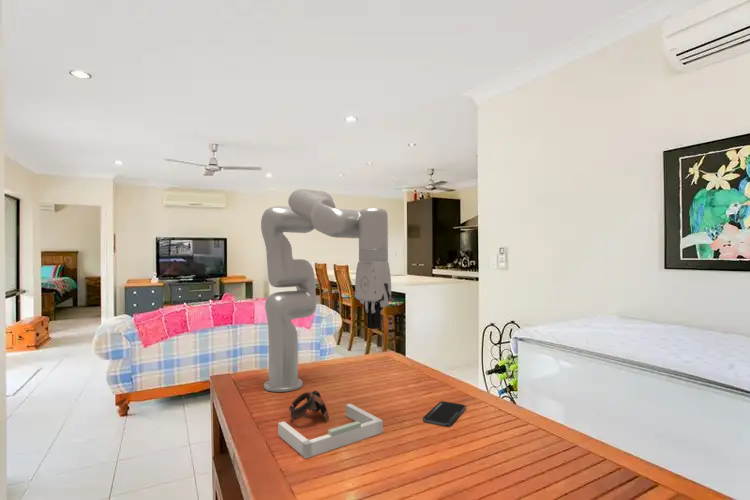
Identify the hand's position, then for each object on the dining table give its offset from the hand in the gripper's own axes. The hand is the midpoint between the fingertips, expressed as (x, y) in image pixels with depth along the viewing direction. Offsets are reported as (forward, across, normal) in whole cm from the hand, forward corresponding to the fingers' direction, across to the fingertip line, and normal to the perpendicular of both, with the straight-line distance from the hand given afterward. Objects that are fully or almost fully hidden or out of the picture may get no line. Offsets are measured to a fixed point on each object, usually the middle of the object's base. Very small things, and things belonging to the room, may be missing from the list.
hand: (374, 327), depth 105 cm
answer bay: (+25, -3, -11) cm, 28 cm away
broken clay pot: (+25, -14, -10) cm, 31 cm away
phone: (+26, +6, +19) cm, 33 cm away
